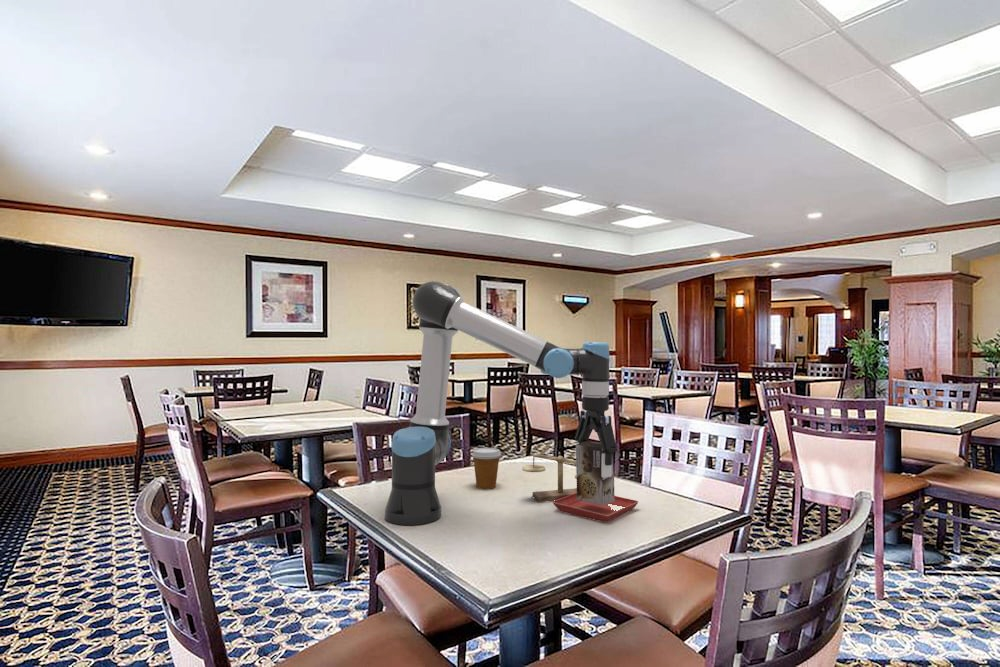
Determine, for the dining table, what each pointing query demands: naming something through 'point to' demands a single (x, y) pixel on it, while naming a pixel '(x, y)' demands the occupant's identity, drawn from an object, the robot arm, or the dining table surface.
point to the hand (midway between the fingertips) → (594, 471)
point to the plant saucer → (593, 507)
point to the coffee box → (593, 475)
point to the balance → (560, 493)
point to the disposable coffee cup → (486, 466)
